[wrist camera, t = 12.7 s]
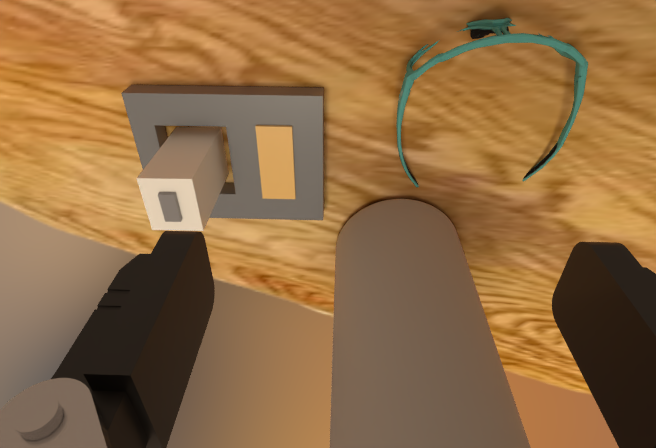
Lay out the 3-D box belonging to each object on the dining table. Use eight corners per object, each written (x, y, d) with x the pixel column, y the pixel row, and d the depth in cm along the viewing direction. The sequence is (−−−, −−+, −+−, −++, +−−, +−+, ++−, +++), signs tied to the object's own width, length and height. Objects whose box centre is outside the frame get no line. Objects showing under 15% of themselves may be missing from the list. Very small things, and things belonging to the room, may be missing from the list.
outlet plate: (323, 87, 36) (322, 97, 34) (323, 208, 43) (322, 222, 41) (131, 84, 36) (119, 94, 34) (163, 204, 43) (155, 218, 41)
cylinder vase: (465, 193, 41) (579, 468, 21) (449, 288, 49) (523, 558, 28) (333, 196, 42) (322, 464, 22) (337, 289, 49) (332, 554, 29)
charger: (221, 127, 38) (190, 181, 30) (228, 173, 41) (201, 233, 33) (176, 127, 38) (134, 181, 31) (186, 172, 41) (150, 232, 33)
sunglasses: (588, 0, 31) (622, 22, 28) (540, 169, 41) (559, 202, 38) (394, 17, 33) (401, 41, 29) (392, 178, 43) (397, 211, 39)
